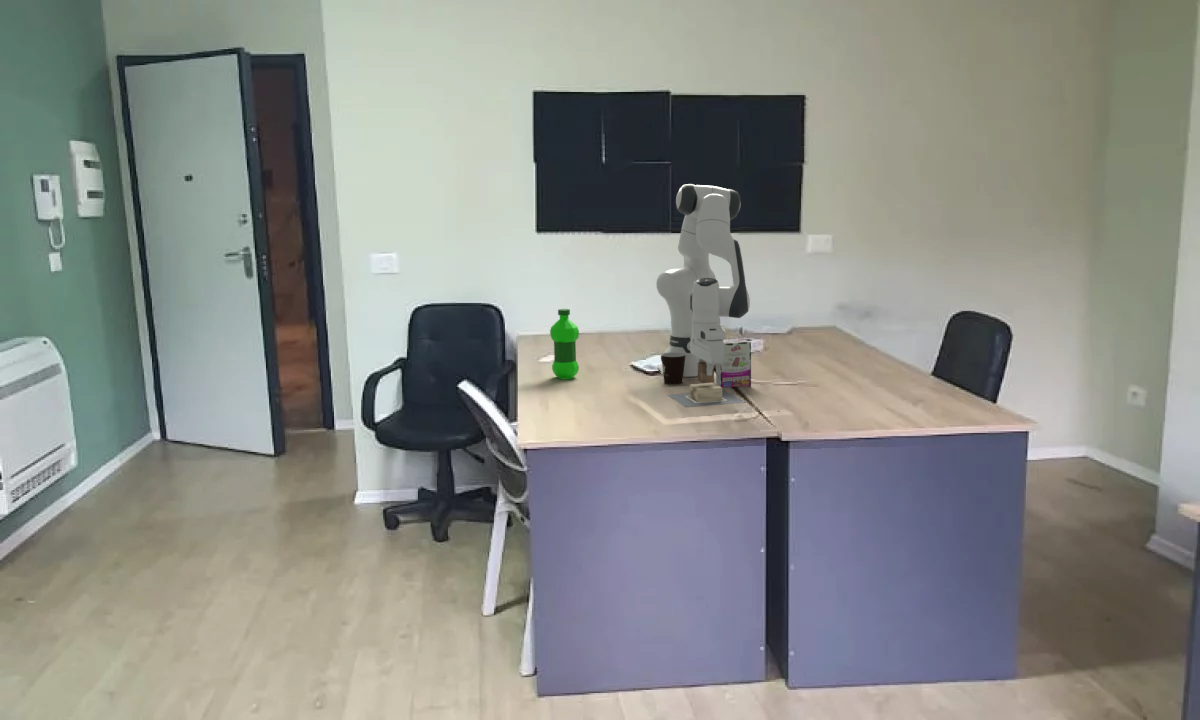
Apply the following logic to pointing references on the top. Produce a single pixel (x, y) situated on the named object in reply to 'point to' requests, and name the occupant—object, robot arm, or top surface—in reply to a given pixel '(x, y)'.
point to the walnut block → (704, 373)
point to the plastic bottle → (564, 346)
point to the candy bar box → (735, 365)
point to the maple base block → (705, 392)
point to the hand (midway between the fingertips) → (705, 373)
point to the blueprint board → (689, 402)
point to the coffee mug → (673, 367)
